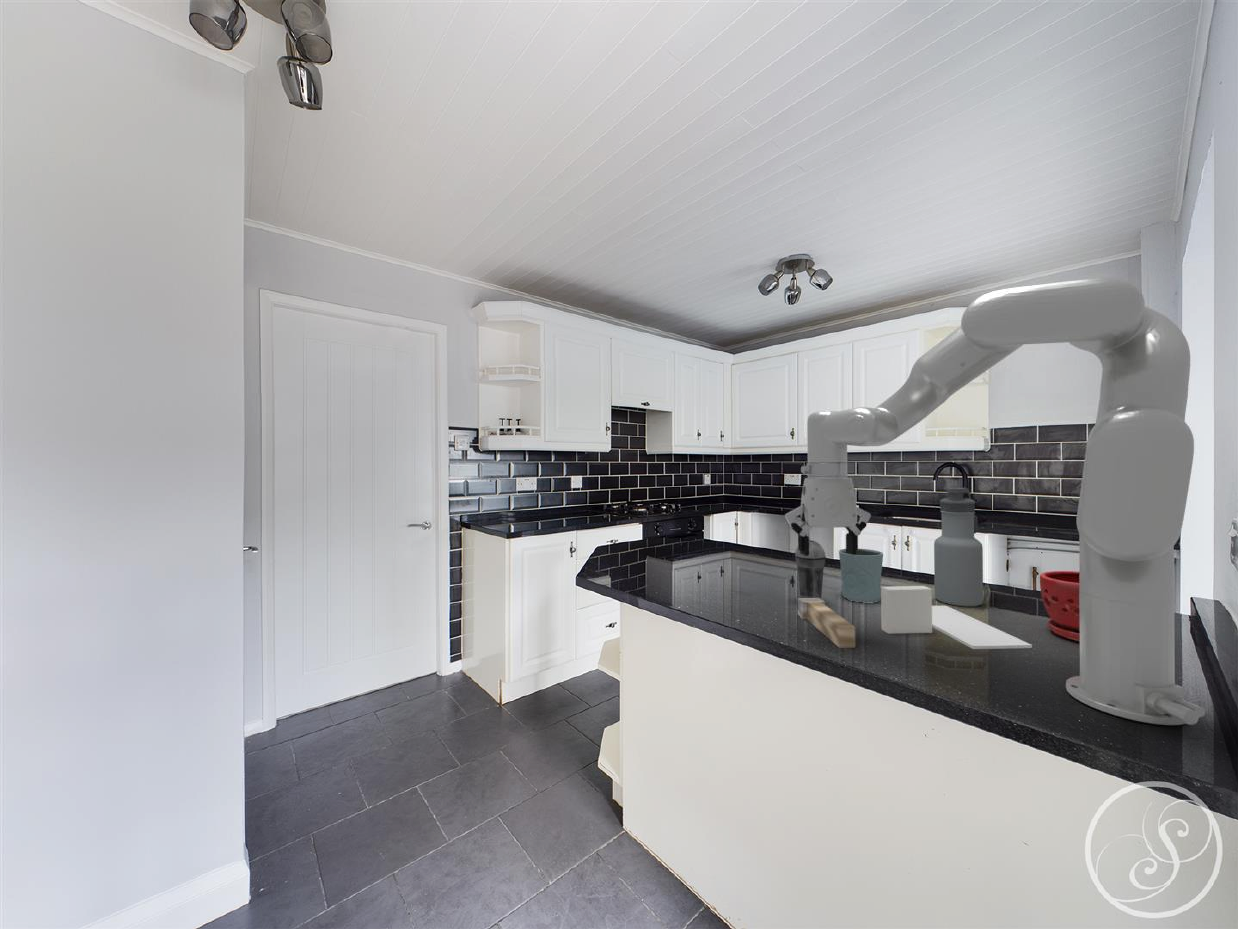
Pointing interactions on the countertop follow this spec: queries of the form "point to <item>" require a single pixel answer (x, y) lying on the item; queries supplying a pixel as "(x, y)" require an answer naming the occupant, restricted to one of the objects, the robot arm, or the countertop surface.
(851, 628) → the wooden beam
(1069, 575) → the plant pot
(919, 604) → the tile
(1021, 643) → the rest mat
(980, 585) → the water bottle
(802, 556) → the beverage cup
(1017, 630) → the countertop surface
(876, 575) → the teal round container
